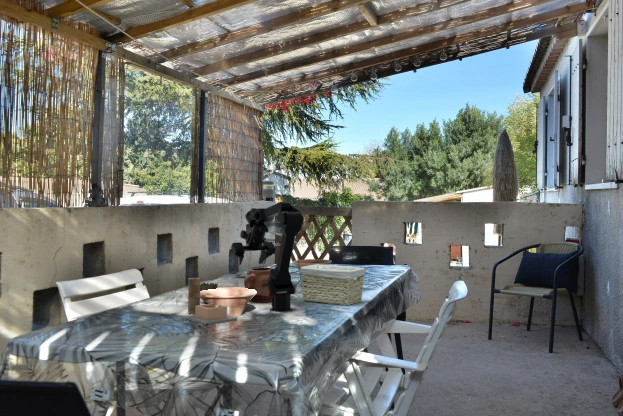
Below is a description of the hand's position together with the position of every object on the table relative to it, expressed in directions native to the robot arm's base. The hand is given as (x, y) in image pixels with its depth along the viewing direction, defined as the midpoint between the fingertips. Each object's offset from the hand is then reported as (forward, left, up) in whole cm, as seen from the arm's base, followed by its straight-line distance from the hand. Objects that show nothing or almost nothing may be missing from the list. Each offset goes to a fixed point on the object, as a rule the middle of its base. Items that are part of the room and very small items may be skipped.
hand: (249, 264), depth 260 cm
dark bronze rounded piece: (+6, +19, -15) cm, 25 cm away
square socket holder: (-19, +45, -15) cm, 51 cm away
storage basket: (-33, -16, -15) cm, 39 cm away
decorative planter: (-9, +4, -15) cm, 18 cm away
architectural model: (+17, -20, -16) cm, 31 cm away
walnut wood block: (-6, +40, -15) cm, 43 cm away
